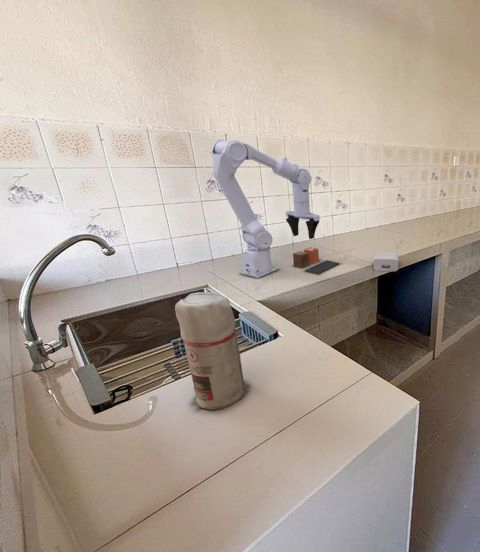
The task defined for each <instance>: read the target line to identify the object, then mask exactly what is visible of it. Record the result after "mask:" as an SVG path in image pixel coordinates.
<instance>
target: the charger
mask: <svg viewBox="0 0 480 552" xmlns="http://www.w3.org/2000/svg"><path fill="white" fill-rule="evenodd" d="M373 270H374V271H376V272H397V271H398V270H399V253H397V252H395V251H394V252H392V251H376V252H374V256H373Z"/></svg>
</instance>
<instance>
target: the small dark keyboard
mask: <svg viewBox="0 0 480 552" xmlns="http://www.w3.org/2000/svg"><path fill="white" fill-rule="evenodd" d="M338 265H340V262H336V261H332V260H324V261H321V262H320V263H318V264H316V265H313V266H311V267H309V268H307V269H304V272H307V273H310V274H316V275H321V274H322V273H324V272H326V271H328V270H331V269H332V268H334V267H336V266H338Z"/></svg>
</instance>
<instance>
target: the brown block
mask: <svg viewBox="0 0 480 552" xmlns="http://www.w3.org/2000/svg"><path fill="white" fill-rule="evenodd" d="M292 259H293V267H295V268H300V269H303V268H307V267H308V266H310V263H309V255H308V253H307V252H304V251H302V250H298V251H296V252H293V253H292Z"/></svg>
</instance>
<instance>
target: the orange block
mask: <svg viewBox="0 0 480 552" xmlns="http://www.w3.org/2000/svg"><path fill="white" fill-rule="evenodd" d="M303 252H307V253H308V255H309V264H312V265H313V264H315V263H317V262H319V261H320V256H319V248H316V247H315V246H314V247H311V246H310V247H307V248H305V249H303Z"/></svg>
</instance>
